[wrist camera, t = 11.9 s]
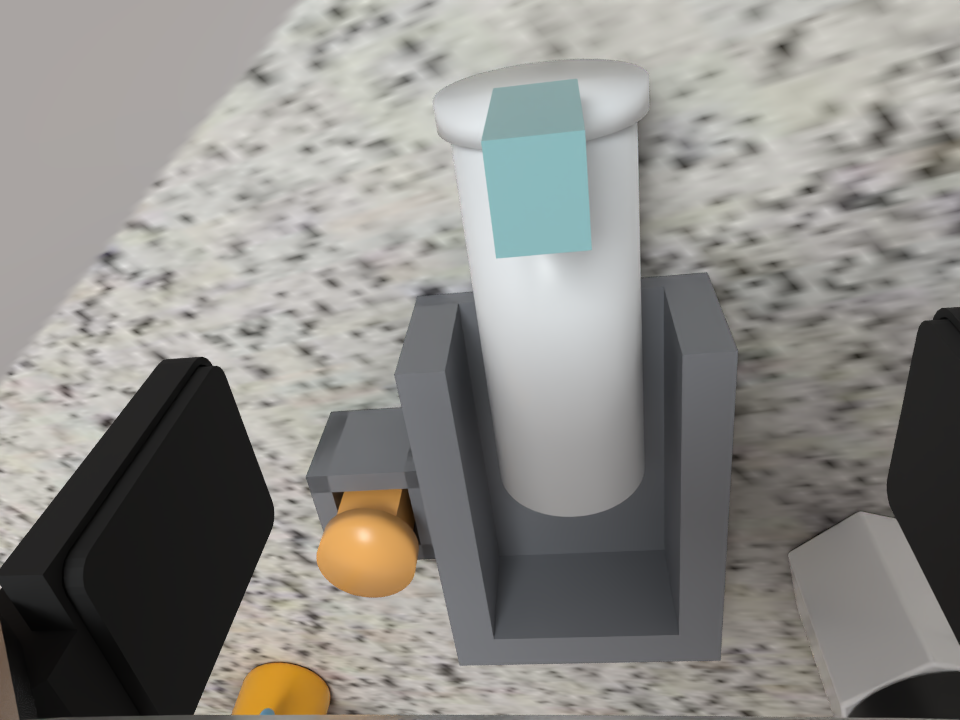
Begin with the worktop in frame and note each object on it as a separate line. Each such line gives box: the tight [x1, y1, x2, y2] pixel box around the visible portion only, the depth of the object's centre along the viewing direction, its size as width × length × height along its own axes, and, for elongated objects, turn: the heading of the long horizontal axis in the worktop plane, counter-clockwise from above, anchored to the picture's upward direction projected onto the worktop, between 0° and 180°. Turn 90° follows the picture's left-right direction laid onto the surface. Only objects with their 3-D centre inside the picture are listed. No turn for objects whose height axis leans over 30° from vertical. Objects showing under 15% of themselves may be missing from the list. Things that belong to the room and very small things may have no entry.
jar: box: [788, 511, 960, 719], centre depth 38 cm, size 9×8×12 cm
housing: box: [306, 273, 738, 666], centre depth 37 cm, size 19×18×6 cm
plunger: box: [317, 489, 419, 597], centre depth 37 cm, size 4×4×7 cm
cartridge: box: [433, 59, 650, 517], centre depth 28 cm, size 7×18×13 cm, turn 7°
